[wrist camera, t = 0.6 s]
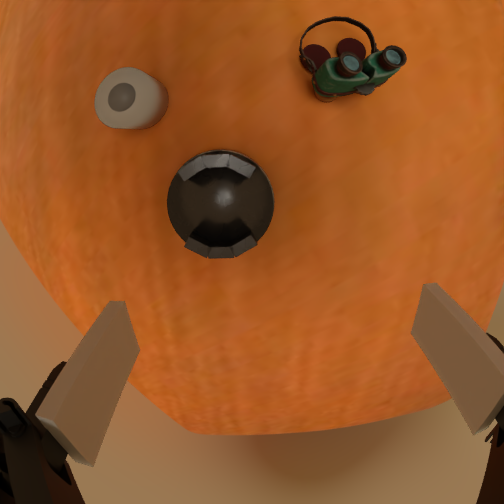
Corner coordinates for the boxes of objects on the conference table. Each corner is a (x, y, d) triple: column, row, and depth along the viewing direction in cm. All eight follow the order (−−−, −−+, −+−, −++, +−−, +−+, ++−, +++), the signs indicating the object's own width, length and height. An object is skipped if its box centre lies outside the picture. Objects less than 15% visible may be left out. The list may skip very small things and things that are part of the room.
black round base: (172, 152, 31) (157, 155, 26) (271, 147, 31) (275, 148, 26) (180, 244, 35) (168, 262, 30) (272, 242, 35) (276, 260, 30)
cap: (118, 83, 28) (94, 74, 22) (168, 73, 28) (151, 61, 22) (119, 132, 30) (94, 133, 24) (169, 125, 30) (152, 123, 24)
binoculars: (379, -13, 16) (426, 77, 18) (350, 28, 26) (382, 99, 29) (291, -4, 17) (338, 92, 19) (282, 41, 27) (314, 115, 30)
